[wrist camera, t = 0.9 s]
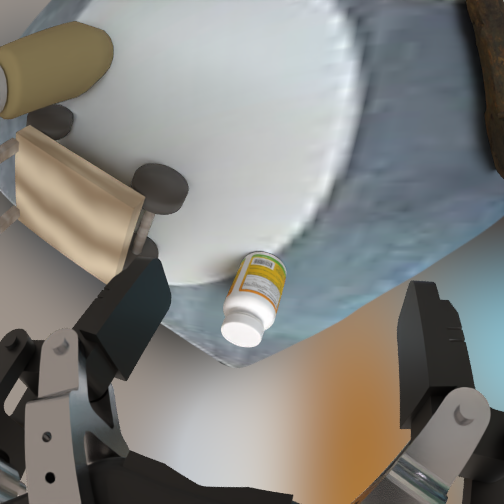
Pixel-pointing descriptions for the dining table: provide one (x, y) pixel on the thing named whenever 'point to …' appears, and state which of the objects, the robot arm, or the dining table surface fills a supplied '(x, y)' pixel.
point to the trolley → (85, 198)
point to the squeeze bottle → (51, 67)
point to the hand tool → (491, 69)
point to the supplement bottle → (253, 299)
